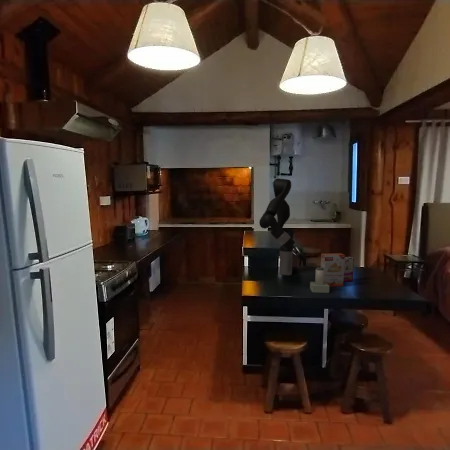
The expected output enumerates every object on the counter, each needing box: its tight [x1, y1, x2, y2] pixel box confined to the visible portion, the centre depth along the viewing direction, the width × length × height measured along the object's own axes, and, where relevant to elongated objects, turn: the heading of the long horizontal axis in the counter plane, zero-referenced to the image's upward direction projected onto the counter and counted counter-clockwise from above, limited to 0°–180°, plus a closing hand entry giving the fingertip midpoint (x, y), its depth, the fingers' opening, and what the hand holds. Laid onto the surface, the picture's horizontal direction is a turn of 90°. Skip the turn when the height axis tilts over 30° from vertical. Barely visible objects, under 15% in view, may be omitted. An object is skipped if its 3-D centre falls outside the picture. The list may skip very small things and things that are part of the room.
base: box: [309, 281, 330, 294], centre depth 239 cm, size 10×10×4 cm
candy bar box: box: [343, 256, 355, 283], centre depth 262 cm, size 11×5×16 cm, turn 112°
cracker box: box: [320, 253, 346, 288], centre depth 249 cm, size 14×6×21 cm, turn 101°
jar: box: [314, 266, 324, 285], centre depth 238 cm, size 5×5×10 cm
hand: (303, 259), depth 238 cm, fingers open, 8 cm apart
